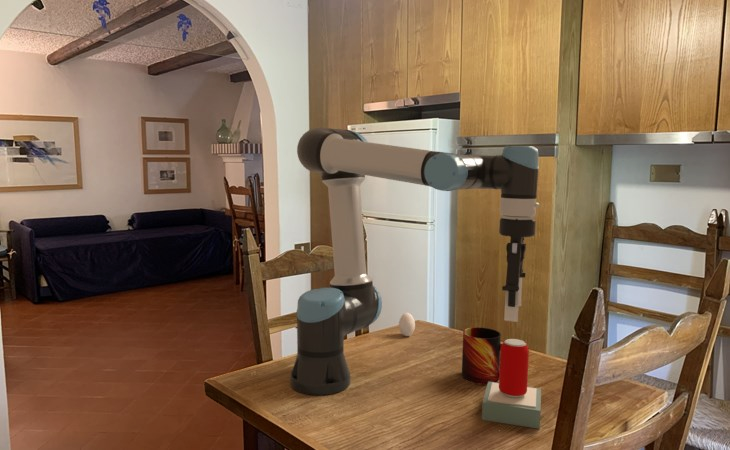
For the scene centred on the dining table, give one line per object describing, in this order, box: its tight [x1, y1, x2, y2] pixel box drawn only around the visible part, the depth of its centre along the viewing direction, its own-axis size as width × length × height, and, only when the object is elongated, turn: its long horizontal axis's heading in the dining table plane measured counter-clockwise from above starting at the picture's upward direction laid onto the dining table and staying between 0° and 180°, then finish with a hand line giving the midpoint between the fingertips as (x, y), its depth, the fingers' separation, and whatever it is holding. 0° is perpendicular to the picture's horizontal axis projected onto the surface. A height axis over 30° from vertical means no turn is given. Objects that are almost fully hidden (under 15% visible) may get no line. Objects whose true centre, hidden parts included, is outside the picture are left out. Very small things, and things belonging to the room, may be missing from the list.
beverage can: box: [498, 338, 530, 398], centre depth 118 cm, size 6×6×12 cm
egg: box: [398, 312, 416, 337], centre depth 173 cm, size 5×5×8 cm
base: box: [481, 381, 542, 430], centre depth 119 cm, size 12×12×4 cm
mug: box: [461, 326, 503, 385], centre depth 139 cm, size 10×14×12 cm
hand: (513, 312), depth 118 cm, fingers open, 13 cm apart
